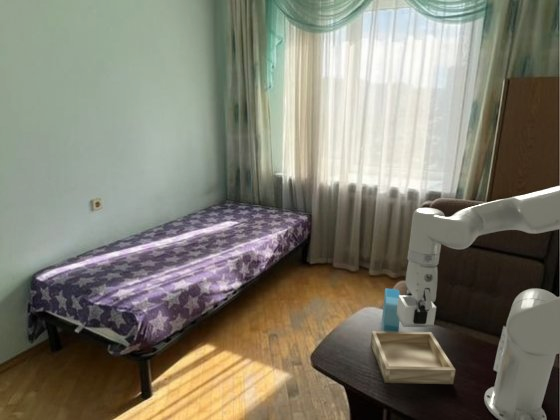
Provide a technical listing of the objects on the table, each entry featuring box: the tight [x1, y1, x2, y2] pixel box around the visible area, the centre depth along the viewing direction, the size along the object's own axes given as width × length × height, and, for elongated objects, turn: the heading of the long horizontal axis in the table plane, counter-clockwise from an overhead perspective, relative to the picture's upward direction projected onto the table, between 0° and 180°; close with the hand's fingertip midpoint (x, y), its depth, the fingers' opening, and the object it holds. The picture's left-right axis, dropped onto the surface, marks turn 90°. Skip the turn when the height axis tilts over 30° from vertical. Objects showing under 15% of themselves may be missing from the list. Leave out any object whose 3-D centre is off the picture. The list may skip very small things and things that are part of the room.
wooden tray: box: [370, 330, 456, 385], centre depth 100 cm, size 16×18×4 cm
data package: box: [381, 287, 401, 332], centre depth 115 cm, size 12×4×12 cm, turn 165°
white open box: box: [397, 294, 437, 328], centre depth 96 cm, size 6×8×6 cm
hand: (415, 315), depth 97 cm, fingers closed on white open box, 6 cm apart
